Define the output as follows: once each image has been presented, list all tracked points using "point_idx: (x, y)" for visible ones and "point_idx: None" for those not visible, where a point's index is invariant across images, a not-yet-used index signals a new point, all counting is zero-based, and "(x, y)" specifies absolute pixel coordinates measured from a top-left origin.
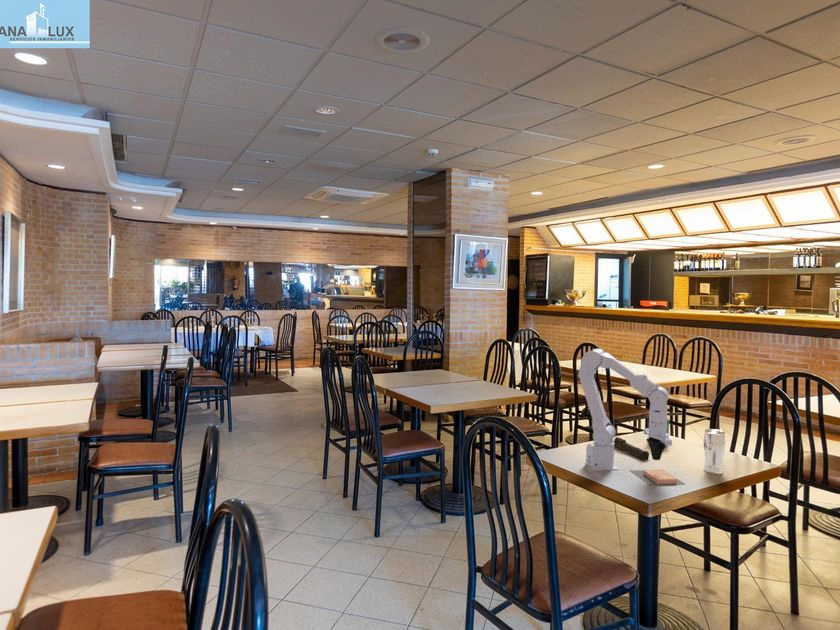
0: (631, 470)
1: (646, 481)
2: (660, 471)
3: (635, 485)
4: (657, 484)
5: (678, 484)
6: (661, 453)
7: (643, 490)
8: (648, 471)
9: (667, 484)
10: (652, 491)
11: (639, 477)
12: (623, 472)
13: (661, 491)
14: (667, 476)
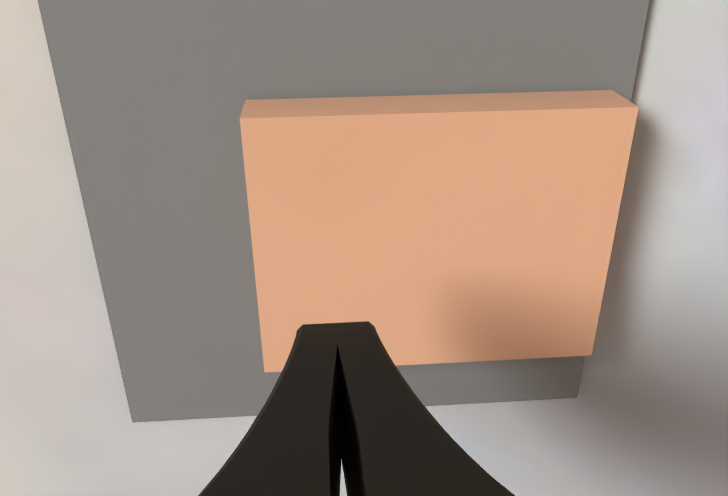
0: (128, 398)
1: (472, 386)
2: (320, 181)
3: (525, 492)
4: None
5: (633, 75)
6: (413, 403)
7: (645, 476)
8: None
9: None
10: (687, 420)
11: None
12: (175, 472)
13: (714, 347)
14: (522, 187)
